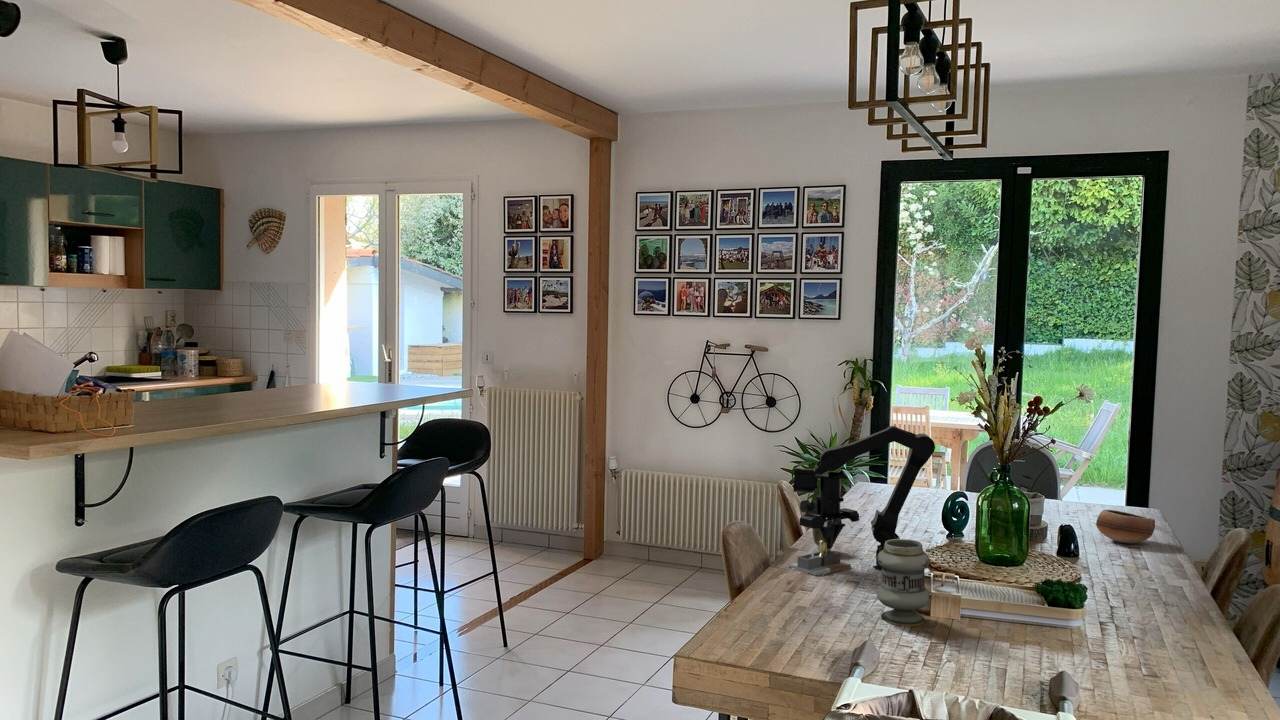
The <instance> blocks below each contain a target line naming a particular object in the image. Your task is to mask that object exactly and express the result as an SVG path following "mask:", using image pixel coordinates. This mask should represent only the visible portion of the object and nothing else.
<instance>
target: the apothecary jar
mask: <svg viewBox="0 0 1280 720" xmlns="http://www.w3.org/2000/svg"><path fill="white" fill-rule="evenodd" d="M877 561H878V563H879V564H880V565H881V566H882V570H881V574H882V575H881V584H880V585H879V586H878V587H877V590H876V597H877V600H878V601H879V602H880V603H881V604H882V605H884V606H886V607H888V608H890V610H885V611H884V612H882V613H881V614H880V619H881V620H884V621H885V622H886V623H888V624H891V625H896V626H902V627H915V626H916V627H917V626H920V625H923V624H924V623H925V622H926V618H925V617H924V616H923V615H921V614H920V613H917V612H916V611H918V610H920V609H922V608H924V607H926V606H927V605H928V604H929V603H930V602H931V593H930V592H929V590H928V589H927V587H926V586H925V585H926V583H925V581H926V580H925V570H926V569H927V568H928V567H929V566H930V565H931V559H930V557H929V555H928V554H927V553H926V552H925V551H924V549H923V543H922V542H920V541H919V540H914V539H907V538H900V539H892V540H888V541H886V542H885V545H884V549H883V550H882V551H880V552H879V554H878V556H877Z"/></svg>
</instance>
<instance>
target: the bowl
mask: <svg viewBox="0 0 1280 720" xmlns="http://www.w3.org/2000/svg"><path fill="white" fill-rule="evenodd" d="M1095 526H1096V528H1097V529H1098V531H1099V532H1100V533H1101V534H1102V535H1104V536H1106V537H1107V538H1109V539H1110V540H1112V541H1114V542H1117V543H1122V544H1137V543H1141V542H1144V541H1147V540H1148V539H1151V537H1152V536H1153V534H1154V532H1155V528H1156V520H1155V518H1152V517H1147V516H1143V515H1139V514H1135V513H1132V512H1131V513H1130V512H1126V511H1121V510H1113V509H1103V510H1101V511H1100V513H1099V515H1098V516H1097V519H1096V523H1095Z"/></svg>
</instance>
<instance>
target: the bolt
mask: <svg viewBox="0 0 1280 720" xmlns="http://www.w3.org/2000/svg"><path fill="white" fill-rule="evenodd" d="M818 547H819V546H818ZM818 552H819V555H816V556H814V555H812V556H811V557H807V559H810V558H815V557H821V565H822V564H823V556H824V555H827V541H820V547H819V550H818Z"/></svg>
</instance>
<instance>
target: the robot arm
mask: <svg viewBox="0 0 1280 720" xmlns="http://www.w3.org/2000/svg"><path fill="white" fill-rule="evenodd" d="M893 442H895V443H897V444H899V445H901V446H903V447H906V448H908V451H907V458H906V462H905V464H904V467H903V469H902V471H901V473H900V476H899V478H898V479H897V482H896V484H895V486H894V488H893V490H892V492H891V494H890V497H889V499H888V501H887V503H886V505H885V507H884V508H883V509H882V511H879V510H878V509H876V511H875V514H874V516H873V519H872V520H871V521H870V524H871V531H872V532H871V533H872V535H873V538H874V539H875V541H876V542H877V543H879V544H878V545H877V548H876V550H875V553H876V555H875V565H872V566H873V568H874V569H877V570H880V571H882V566H881V565H880V564H879V563H878V561H877V556H878V554H879V552H880V551H882V550H883V549H884V545H885V542H886V541H888V540H892V539H901V538H900V536H899V535H898V534H897V532H896V530H897V527H898V520H899V515H900V513H901V511H902V509H903V506H904V505H905V503H906V501H907V498H908V496H909V494H910V492H911V490H912V487H913V485H914V483H915V481H916V479H917V476H918V475H919V472H920V470H921V469H922V468H923V467H924V465H926V463H927V462H928V461H929V459H930V458H931V456H932V455H933V454H934V452H935V450H936V444H935V441H934V440H933V439H932V438H931V437H930V436H929V435H928V434H926V433H917V434H916V433H913V432H911V431H907V430H905V429H903V428H902V429H901V428H899V427H898V426H896V425H890V426H888V427H886V428H885V429H882V430H880V431H878V432H875V433H872V434H870V435H867V436H865V437H863V438H860V439H858V440H856V441H853V442H850V443H847V444H840V445H834V446H830V447H826V448H825V449H823V450H822V451H821V453H820V457H819V458H820V460H819V461H817V463H816V464H815V465H814V467H813V468H801V467H794V472H793V473H794V474H793V475H794V477H793V483H792V486H793V489H792V491H793V493H809V494H813V493H814V491H816V490H818V479H819V495H816V497H815V501H811V502H810V500H809V499H807V500H806V499H805V500H804V499H803V500H801V501H800V502H799V503H800V505H799V508H800V512H801V513H804V514H803V515H801V516H800V517H799V526H801V527H805V528H808V529H818V528H819V529H820V531H821V533H822V535H823V538H824V541H827V549H831V550H832V548H833V546H834V545H835V542H836V541H837V539H838V537H839V535H840V533H841V532H842V529H844V527H846V523H842V522H843V521H842V520H846V519H849V520H850V522H852V523H855V522H860V513H859V512H858V511H857V510H854V509H850V508H846V507H844V508H841V503H842V502H844V497H842V496H841V485H842V484H841V482H842V481H841V479H843V480H844V479H845V480H847V479H849V478H848V474H847V473H845V471H844V470H843V468H841V467H843V466H844V465H846V464H847V463H849V462H850V461H851V460H854V459H855V458H856V457H859V456H861V455H864V454H866V453H868V452H871V451H875V450H877V449H878V448H881V447H883V446H887V445H889V444H890V443H893ZM839 468H840V470H839ZM836 470H839V471H836Z"/></svg>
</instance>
